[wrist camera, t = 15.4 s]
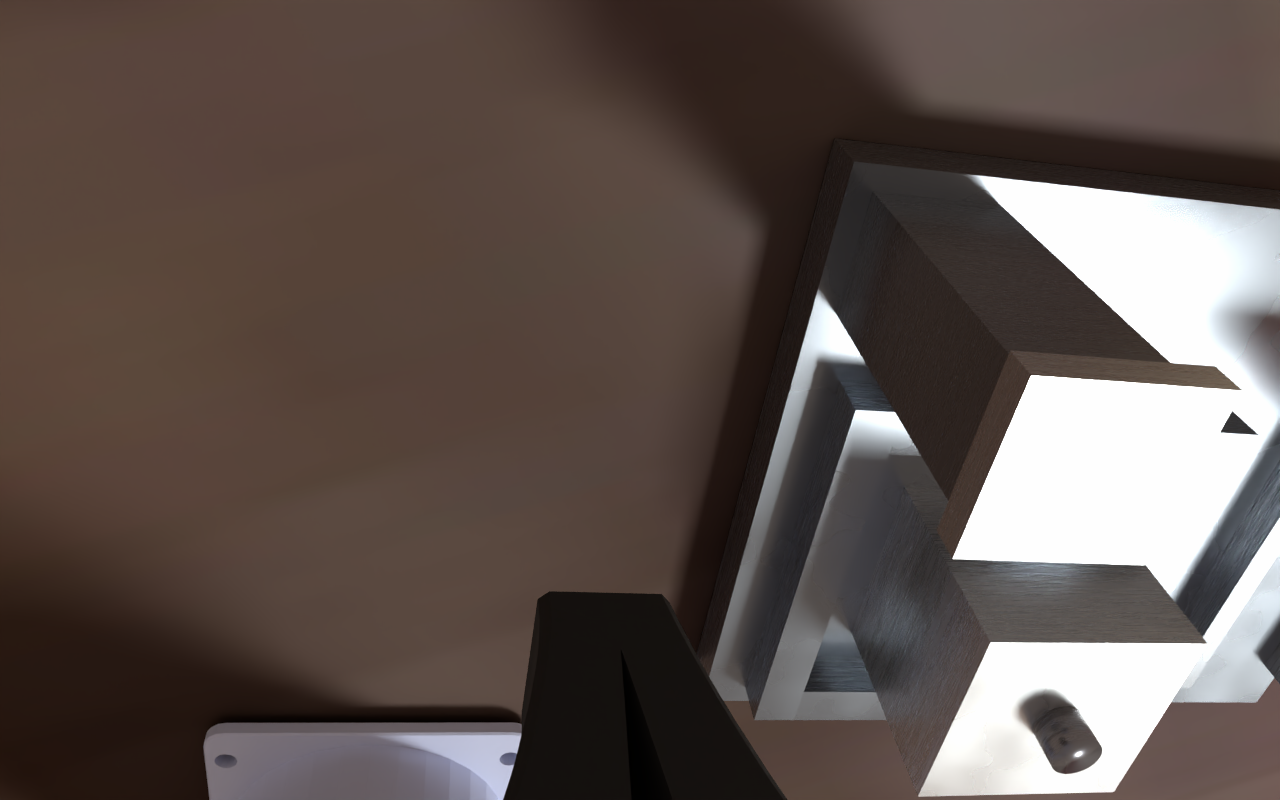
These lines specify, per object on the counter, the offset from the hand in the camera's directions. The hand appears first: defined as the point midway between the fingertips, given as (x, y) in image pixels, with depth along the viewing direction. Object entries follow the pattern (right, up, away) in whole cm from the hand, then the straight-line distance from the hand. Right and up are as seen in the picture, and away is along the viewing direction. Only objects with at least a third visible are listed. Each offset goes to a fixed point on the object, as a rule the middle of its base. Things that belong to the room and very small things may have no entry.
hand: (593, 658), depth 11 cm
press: (+11, +1, +13) cm, 17 cm away
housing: (+8, -1, +13) cm, 15 cm away
